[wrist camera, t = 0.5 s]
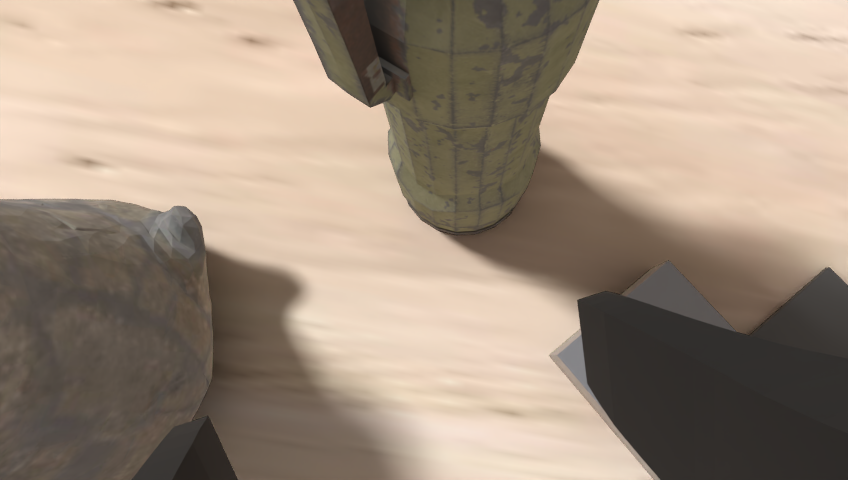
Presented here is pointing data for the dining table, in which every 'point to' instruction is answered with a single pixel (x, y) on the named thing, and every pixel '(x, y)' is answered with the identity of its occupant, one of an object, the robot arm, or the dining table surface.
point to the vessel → (98, 335)
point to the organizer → (655, 289)
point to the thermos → (453, 91)
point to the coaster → (812, 317)
